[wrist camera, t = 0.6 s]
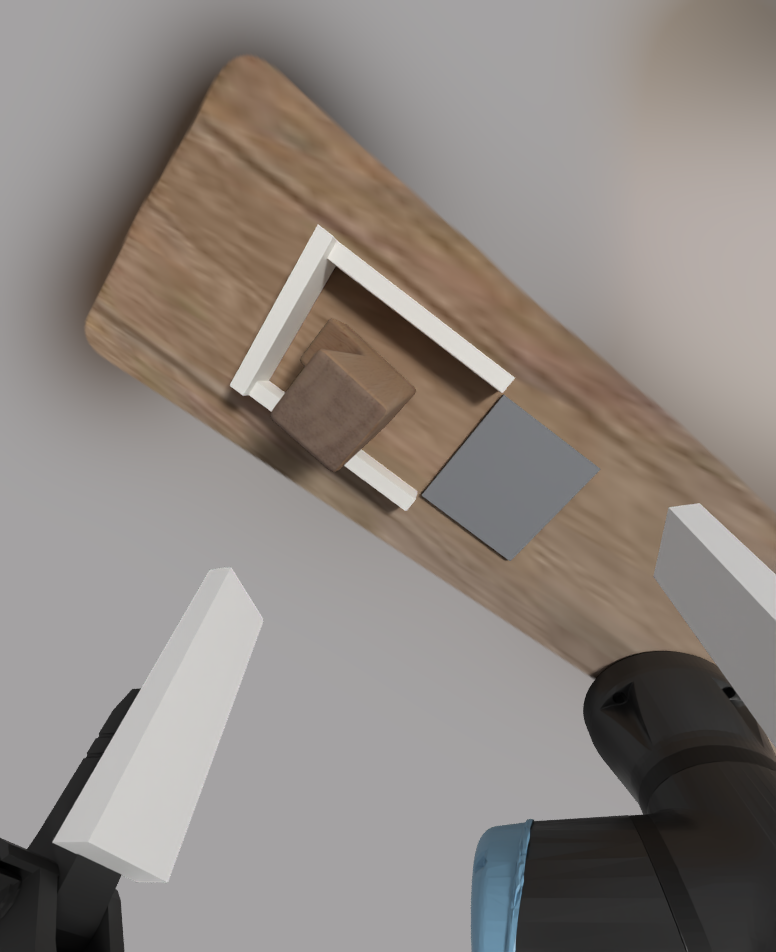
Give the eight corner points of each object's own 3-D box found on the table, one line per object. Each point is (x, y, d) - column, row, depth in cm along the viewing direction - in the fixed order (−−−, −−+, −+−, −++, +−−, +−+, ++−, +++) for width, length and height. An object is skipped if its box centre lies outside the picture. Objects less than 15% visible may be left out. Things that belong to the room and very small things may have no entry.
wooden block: (314, 361, 36) (193, 354, 19) (344, 322, 34) (243, 275, 17) (386, 426, 36) (332, 477, 19) (417, 390, 35) (390, 410, 18)
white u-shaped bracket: (509, 377, 34) (517, 378, 30) (408, 502, 38) (404, 515, 35) (331, 239, 33) (318, 224, 29) (249, 384, 37) (229, 385, 34)
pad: (598, 468, 34) (600, 469, 34) (509, 559, 38) (510, 561, 38) (503, 394, 34) (503, 394, 34) (421, 494, 38) (421, 495, 37)
